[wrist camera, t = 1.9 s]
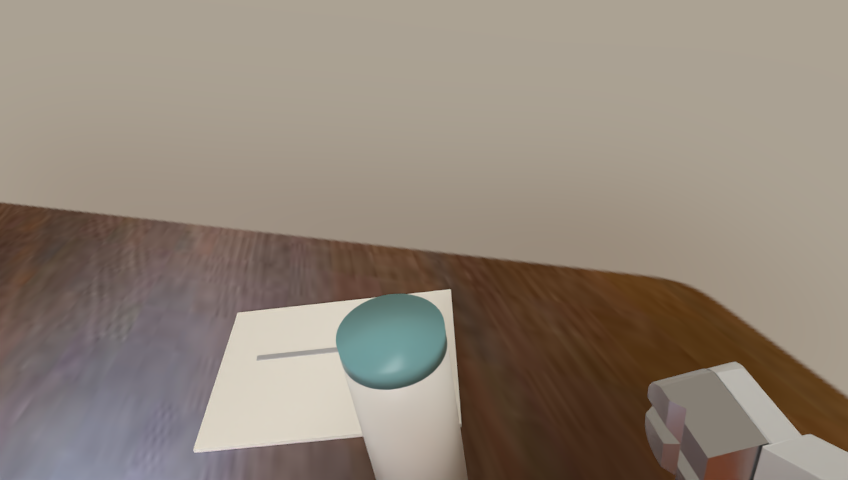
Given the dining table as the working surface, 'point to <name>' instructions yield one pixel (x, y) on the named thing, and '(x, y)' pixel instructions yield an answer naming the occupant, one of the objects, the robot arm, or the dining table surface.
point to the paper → (291, 378)
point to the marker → (403, 388)
